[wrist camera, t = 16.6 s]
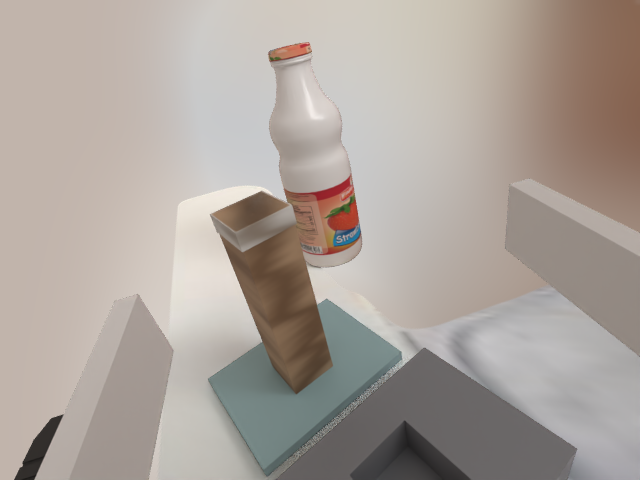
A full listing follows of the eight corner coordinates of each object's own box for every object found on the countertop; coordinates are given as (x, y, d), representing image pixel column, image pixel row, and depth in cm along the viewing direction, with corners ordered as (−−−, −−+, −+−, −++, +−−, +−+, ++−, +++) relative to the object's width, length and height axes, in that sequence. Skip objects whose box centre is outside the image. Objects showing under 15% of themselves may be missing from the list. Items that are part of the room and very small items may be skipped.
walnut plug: (307, 340, 39) (261, 190, 30) (334, 365, 36) (292, 204, 26) (271, 366, 37) (209, 214, 28) (295, 395, 34) (235, 233, 24)
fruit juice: (311, 234, 60) (266, 49, 46) (367, 232, 57) (337, 33, 43) (294, 269, 53) (233, 60, 38) (357, 269, 50) (317, 43, 35)
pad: (328, 304, 45) (326, 298, 44) (401, 358, 36) (401, 351, 36) (211, 385, 38) (207, 379, 37) (266, 476, 29) (263, 470, 29)
